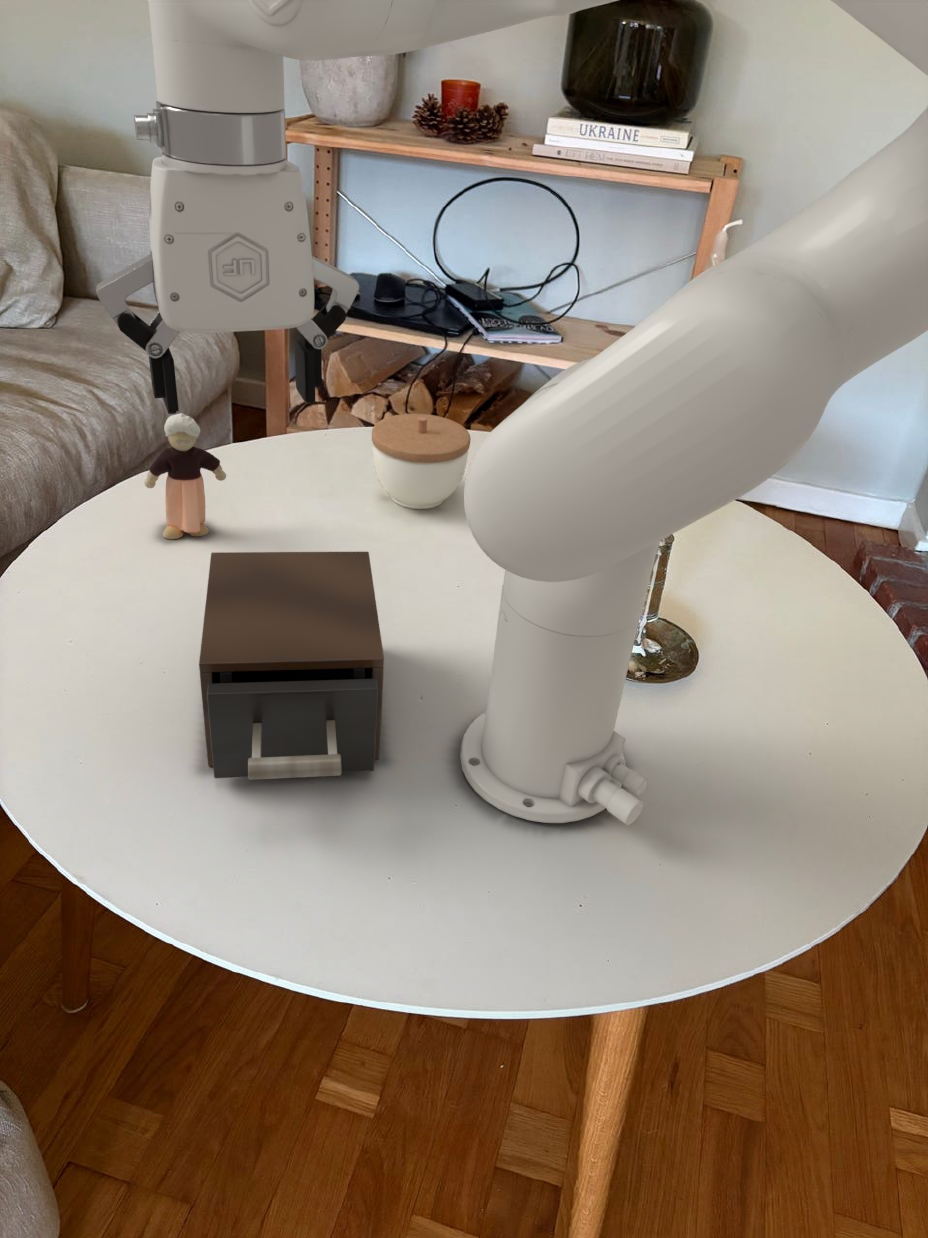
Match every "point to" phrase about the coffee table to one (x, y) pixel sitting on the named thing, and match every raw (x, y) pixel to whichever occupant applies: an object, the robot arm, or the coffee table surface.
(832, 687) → the coffee table surface
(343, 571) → the cabinet
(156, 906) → the coffee table surface
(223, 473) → the grandmother figurine
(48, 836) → the coffee table surface
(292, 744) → the pull-out drawer
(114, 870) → the coffee table surface
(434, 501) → the trinket box
